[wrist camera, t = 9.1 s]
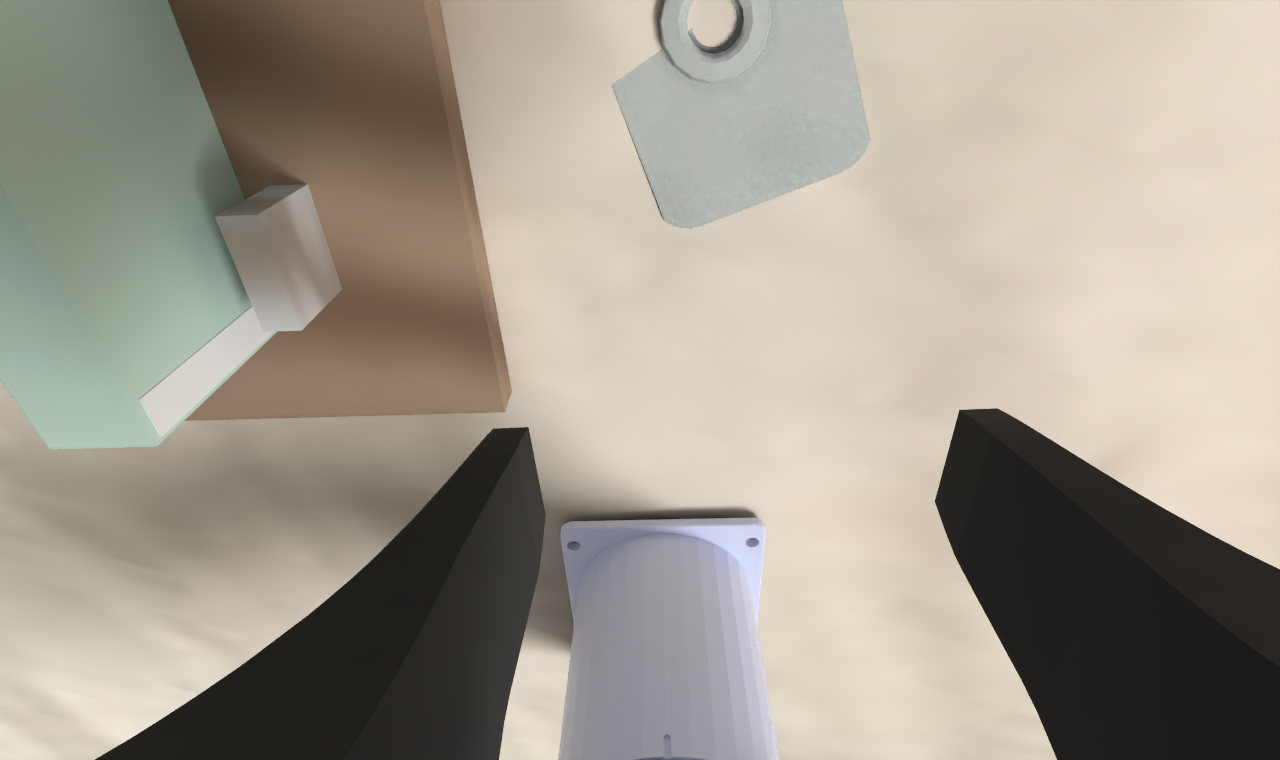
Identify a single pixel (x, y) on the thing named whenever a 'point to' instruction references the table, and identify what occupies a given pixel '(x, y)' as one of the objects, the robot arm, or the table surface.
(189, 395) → the door panel
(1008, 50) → the table surface
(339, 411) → the cabinet base
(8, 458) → the table surface
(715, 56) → the mounting bracket
